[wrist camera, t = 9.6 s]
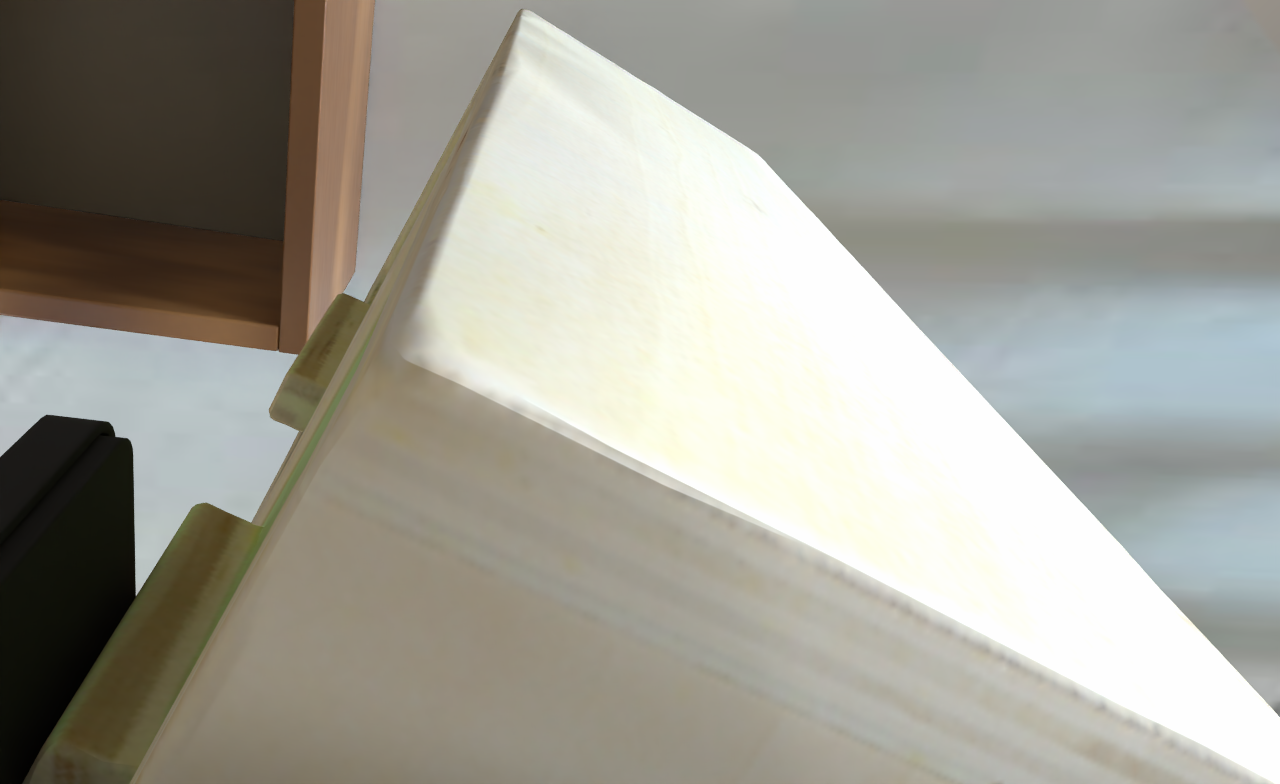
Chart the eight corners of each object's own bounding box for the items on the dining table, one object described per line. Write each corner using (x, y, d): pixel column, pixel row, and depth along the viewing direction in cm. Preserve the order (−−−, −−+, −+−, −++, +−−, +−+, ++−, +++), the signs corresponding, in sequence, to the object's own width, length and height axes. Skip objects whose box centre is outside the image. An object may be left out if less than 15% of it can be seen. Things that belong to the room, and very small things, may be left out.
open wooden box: (-24, 218, 35) (-174, 293, 28) (-55, -200, 30) (-247, -242, 23) (355, 272, 37) (306, 356, 30) (383, -115, 32) (334, -128, 25)
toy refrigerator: (493, -26, 23) (228, 257, 4) (763, 144, 25) (1431, 864, 6) (339, 270, 26) (-272, 1305, 7) (595, 403, 28) (696, 1483, 9)
